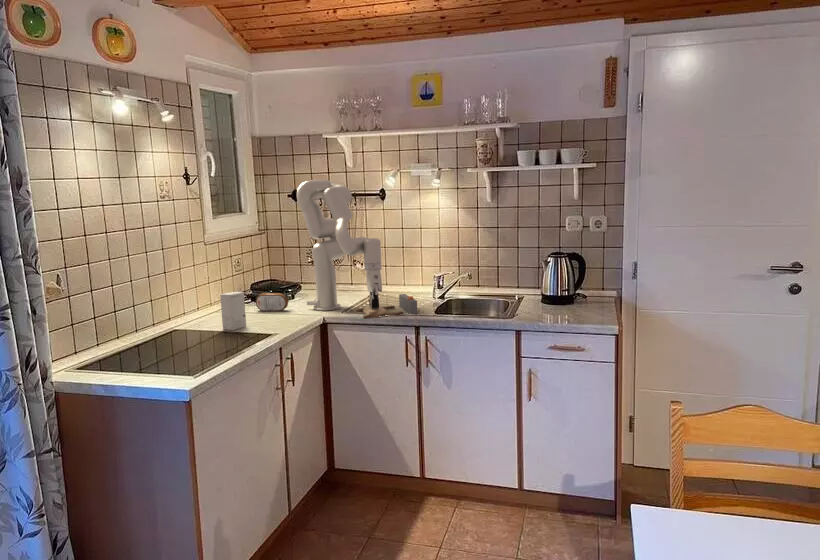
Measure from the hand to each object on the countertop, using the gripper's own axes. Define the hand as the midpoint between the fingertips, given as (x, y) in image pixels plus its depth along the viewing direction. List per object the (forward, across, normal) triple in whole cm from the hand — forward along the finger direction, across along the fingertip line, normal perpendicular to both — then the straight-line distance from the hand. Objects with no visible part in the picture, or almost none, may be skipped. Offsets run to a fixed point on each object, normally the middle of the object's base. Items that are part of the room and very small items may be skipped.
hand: (374, 306), depth 283 cm
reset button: (-1, -4, -16) cm, 16 cm away
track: (+3, 0, -2) cm, 4 cm away
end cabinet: (+3, 0, -16) cm, 16 cm away
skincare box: (+3, -2, +61) cm, 61 cm away
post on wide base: (+3, 0, 0) cm, 3 cm away
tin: (+4, +26, +43) cm, 50 cm away
